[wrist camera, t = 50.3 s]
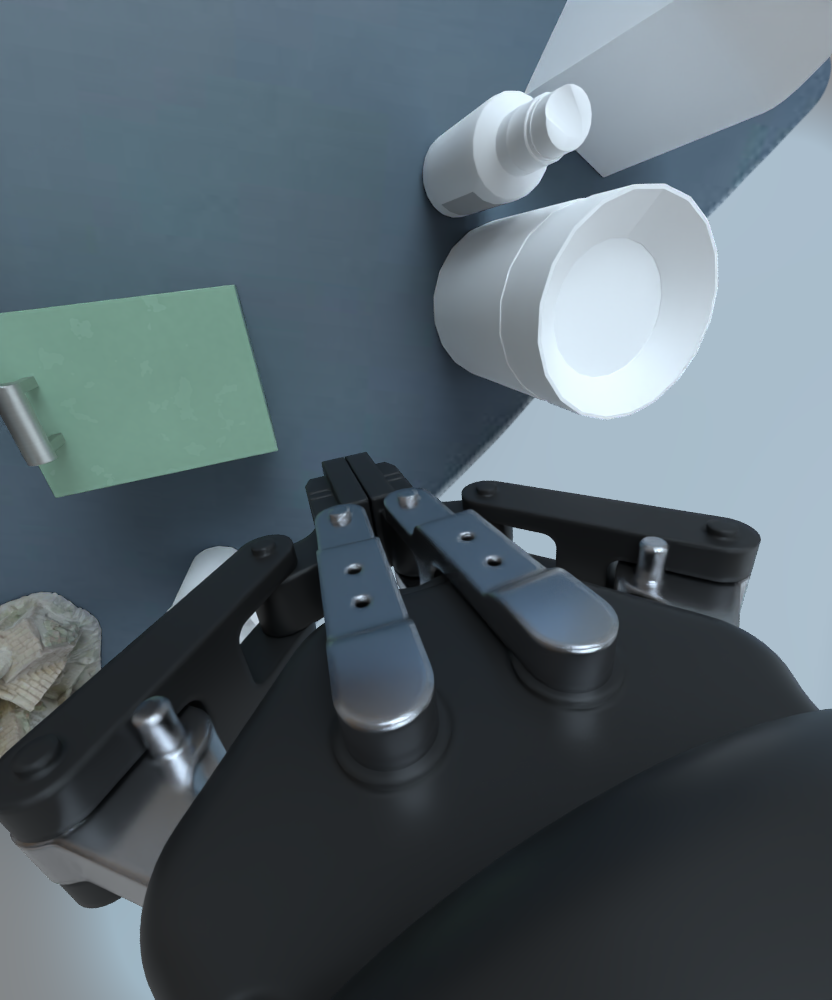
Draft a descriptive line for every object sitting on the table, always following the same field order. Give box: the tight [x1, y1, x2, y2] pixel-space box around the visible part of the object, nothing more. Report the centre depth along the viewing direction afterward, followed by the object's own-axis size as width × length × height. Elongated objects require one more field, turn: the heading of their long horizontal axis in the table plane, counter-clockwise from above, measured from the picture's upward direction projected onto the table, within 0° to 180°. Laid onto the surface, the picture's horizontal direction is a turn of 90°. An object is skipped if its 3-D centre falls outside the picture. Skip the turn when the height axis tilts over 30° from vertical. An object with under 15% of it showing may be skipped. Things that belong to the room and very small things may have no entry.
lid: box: [0, 285, 278, 498], centre depth 31 cm, size 16×13×5 cm
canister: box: [433, 184, 718, 420], centre depth 42 cm, size 16×16×20 cm
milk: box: [525, 0, 832, 177], centre depth 33 cm, size 12×12×26 cm
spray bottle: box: [423, 84, 592, 218], centre depth 36 cm, size 7×7×18 cm
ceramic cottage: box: [0, 591, 101, 758], centre depth 44 cm, size 16×16×15 cm
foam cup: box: [167, 546, 259, 644], centre depth 47 cm, size 10×9×13 cm
